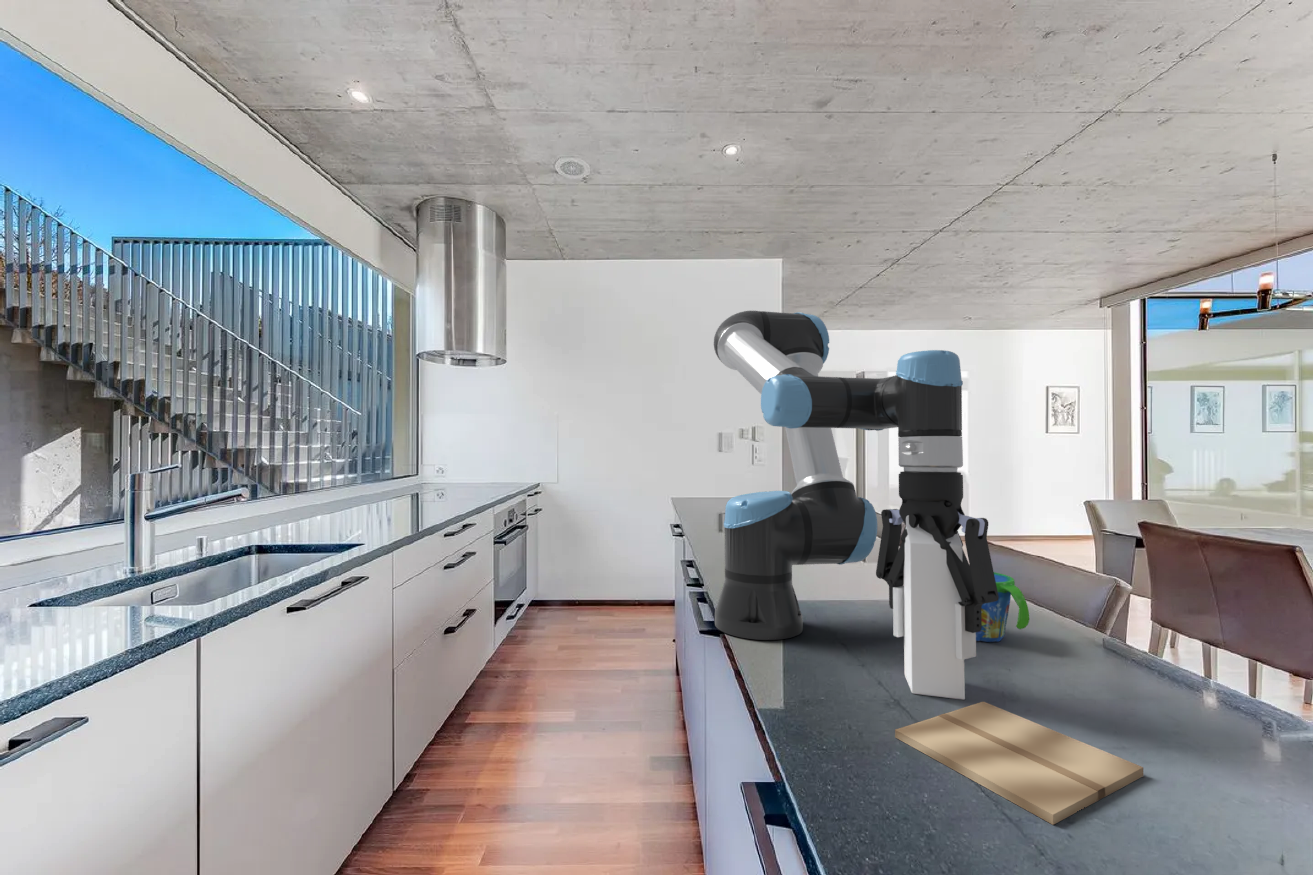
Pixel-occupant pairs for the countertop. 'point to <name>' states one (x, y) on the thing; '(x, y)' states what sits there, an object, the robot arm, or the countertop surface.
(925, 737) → the flat cardboard box
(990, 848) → the countertop surface
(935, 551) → the milk
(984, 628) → the snack cup
